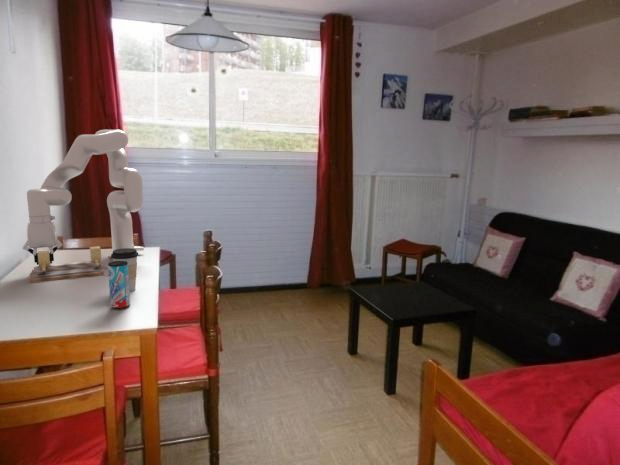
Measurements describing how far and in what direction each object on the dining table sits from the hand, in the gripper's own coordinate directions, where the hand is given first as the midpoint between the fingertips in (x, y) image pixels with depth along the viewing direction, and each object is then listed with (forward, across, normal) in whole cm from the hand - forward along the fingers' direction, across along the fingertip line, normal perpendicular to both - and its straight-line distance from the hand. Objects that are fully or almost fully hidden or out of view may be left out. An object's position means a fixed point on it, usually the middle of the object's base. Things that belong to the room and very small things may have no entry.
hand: (44, 263), depth 181 cm
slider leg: (+2, 0, +3) cm, 4 cm away
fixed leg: (+2, -19, +3) cm, 19 cm away
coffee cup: (+5, -27, +37) cm, 46 cm away
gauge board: (+4, -8, +4) cm, 10 cm away
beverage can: (+5, -23, +55) cm, 60 cm away
